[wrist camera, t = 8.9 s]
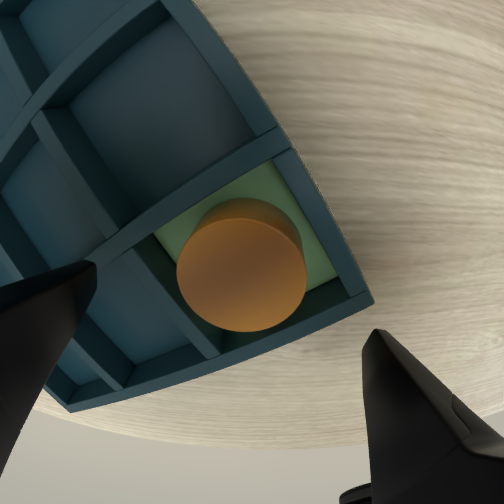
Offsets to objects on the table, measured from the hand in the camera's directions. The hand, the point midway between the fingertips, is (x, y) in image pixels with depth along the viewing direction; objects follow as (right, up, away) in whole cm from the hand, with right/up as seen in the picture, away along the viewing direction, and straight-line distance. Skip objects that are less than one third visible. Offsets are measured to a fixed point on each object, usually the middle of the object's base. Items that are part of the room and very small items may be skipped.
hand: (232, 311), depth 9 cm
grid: (-9, +4, +4) cm, 11 cm away
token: (0, +2, +4) cm, 4 cm away
